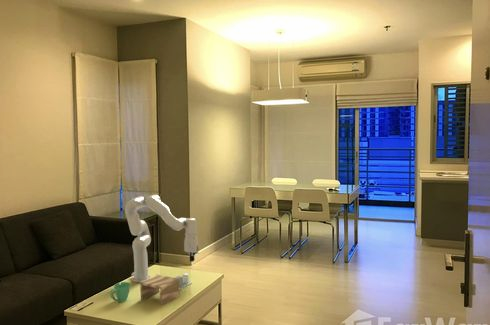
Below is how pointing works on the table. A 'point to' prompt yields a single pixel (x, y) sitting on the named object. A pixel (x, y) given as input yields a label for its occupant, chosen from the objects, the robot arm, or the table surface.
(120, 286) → the mug
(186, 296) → the table surface
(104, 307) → the table surface
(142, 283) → the wooden bridge
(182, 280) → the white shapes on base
